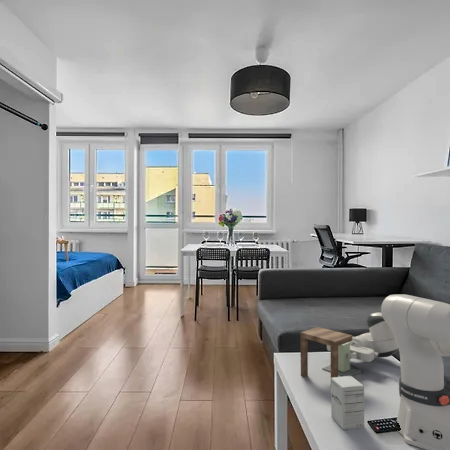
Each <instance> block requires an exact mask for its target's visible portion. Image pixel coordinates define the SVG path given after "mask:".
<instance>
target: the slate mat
mask: <svg viewBox="0 0 450 450" xmlns="http://www.w3.org/2000/svg"><path fill="white" fill-rule="evenodd" d="M321 370H323V371H326V372H329V373H331V364H329V365H327V366H324V367H322V369H321ZM361 372H362V370H361V369H358V368H354V367H351V366H350V369H349V370H347V371H345V372H341V371H338V376H339V377H343V376H352V377H353V376H355V375H358V374H360V373H361Z"/></svg>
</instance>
